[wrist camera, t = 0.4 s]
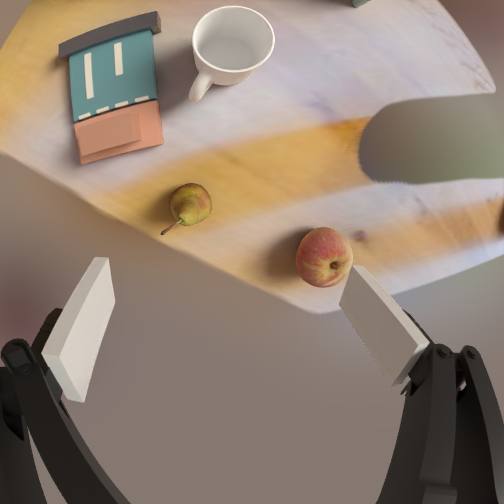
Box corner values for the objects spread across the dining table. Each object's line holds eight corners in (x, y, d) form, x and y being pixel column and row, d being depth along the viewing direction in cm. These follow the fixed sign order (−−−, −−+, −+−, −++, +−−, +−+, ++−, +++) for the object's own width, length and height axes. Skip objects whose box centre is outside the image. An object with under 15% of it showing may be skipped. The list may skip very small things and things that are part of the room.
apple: (282, 265, 45) (297, 293, 38) (298, 215, 41) (318, 235, 34) (327, 271, 47) (347, 297, 40) (345, 225, 44) (369, 246, 37)
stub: (80, 123, 29) (59, 125, 24) (158, 101, 31) (148, 97, 25) (86, 162, 32) (67, 170, 27) (163, 143, 33) (155, 146, 28)
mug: (218, 119, 33) (222, 117, 24) (167, 90, 30) (153, 78, 21) (268, 53, 30) (290, 32, 21) (218, 24, 27) (224, -6, 18)
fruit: (199, 224, 40) (198, 263, 29) (165, 206, 37) (150, 240, 27) (219, 191, 38) (225, 220, 27) (183, 172, 36) (174, 193, 25)
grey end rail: (68, 48, 23) (58, 44, 20) (160, 18, 25) (156, 10, 22) (68, 61, 24) (58, 58, 22) (161, 32, 26) (157, 24, 23)
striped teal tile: (75, 44, 23) (69, 41, 21) (151, 19, 24) (149, 14, 23) (79, 121, 29) (73, 121, 27) (158, 98, 30) (155, 97, 29)
